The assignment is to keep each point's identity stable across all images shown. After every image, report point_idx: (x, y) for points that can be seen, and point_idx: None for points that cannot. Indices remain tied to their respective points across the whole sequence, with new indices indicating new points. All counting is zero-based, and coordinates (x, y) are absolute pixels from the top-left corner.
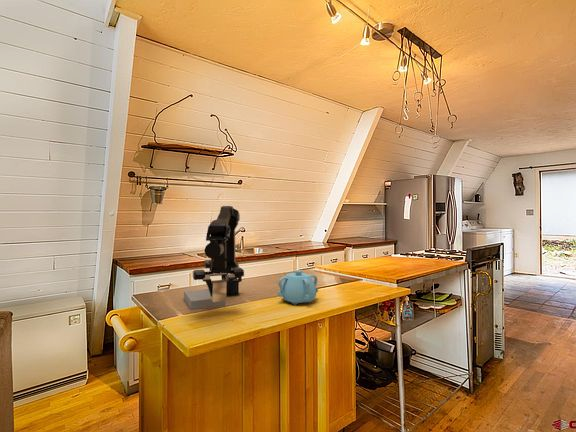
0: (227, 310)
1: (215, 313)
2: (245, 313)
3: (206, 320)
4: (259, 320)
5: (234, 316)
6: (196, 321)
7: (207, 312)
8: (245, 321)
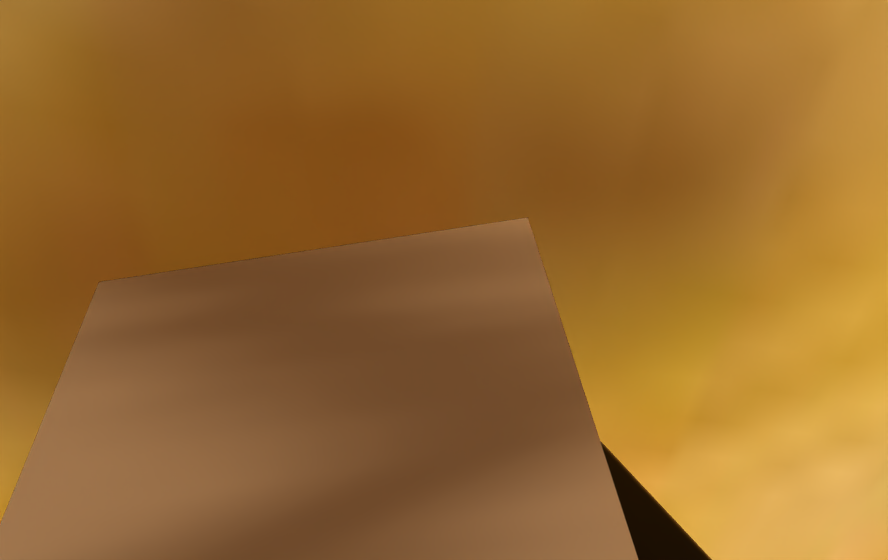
0: (565, 17)
1: (289, 173)
2: (843, 275)
3: None
4: (880, 543)
5: (618, 378)
6: (11, 484)
7: (92, 69)
8: (704, 551)
